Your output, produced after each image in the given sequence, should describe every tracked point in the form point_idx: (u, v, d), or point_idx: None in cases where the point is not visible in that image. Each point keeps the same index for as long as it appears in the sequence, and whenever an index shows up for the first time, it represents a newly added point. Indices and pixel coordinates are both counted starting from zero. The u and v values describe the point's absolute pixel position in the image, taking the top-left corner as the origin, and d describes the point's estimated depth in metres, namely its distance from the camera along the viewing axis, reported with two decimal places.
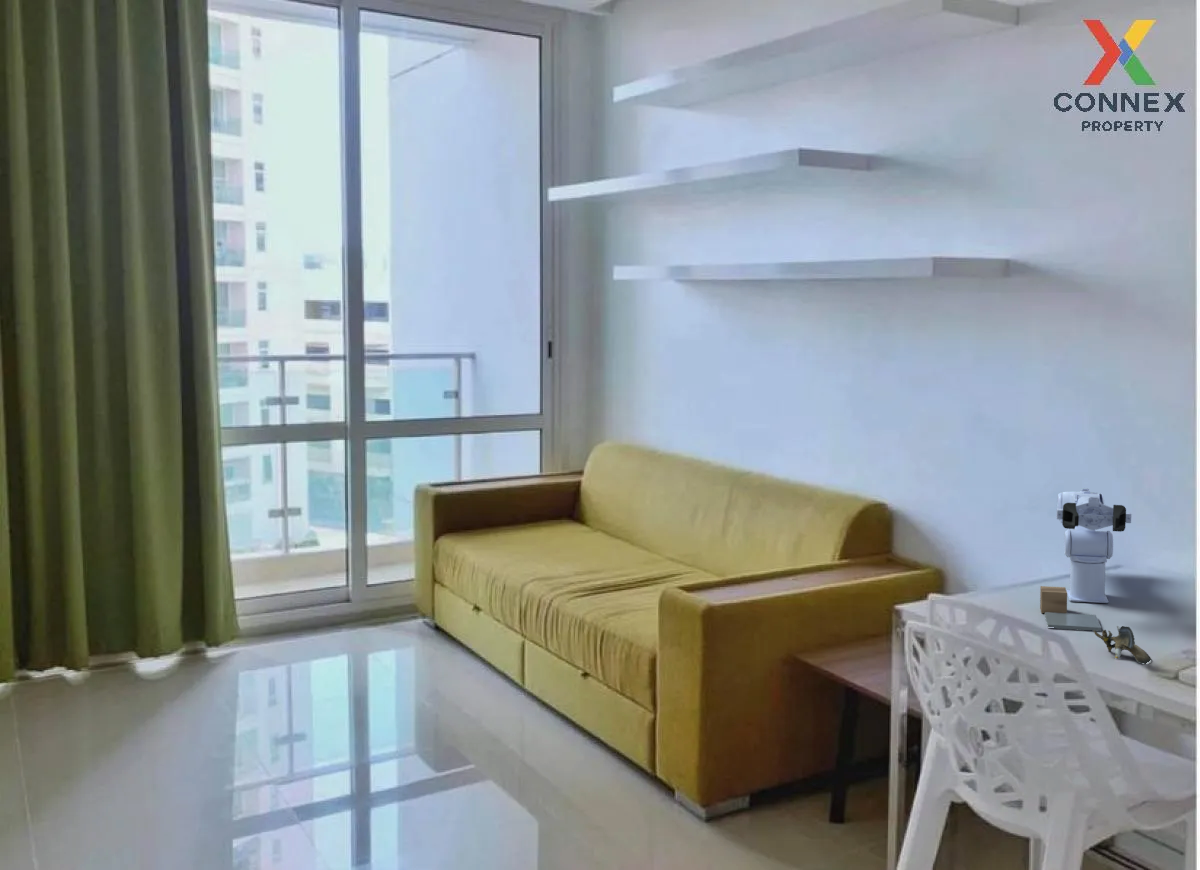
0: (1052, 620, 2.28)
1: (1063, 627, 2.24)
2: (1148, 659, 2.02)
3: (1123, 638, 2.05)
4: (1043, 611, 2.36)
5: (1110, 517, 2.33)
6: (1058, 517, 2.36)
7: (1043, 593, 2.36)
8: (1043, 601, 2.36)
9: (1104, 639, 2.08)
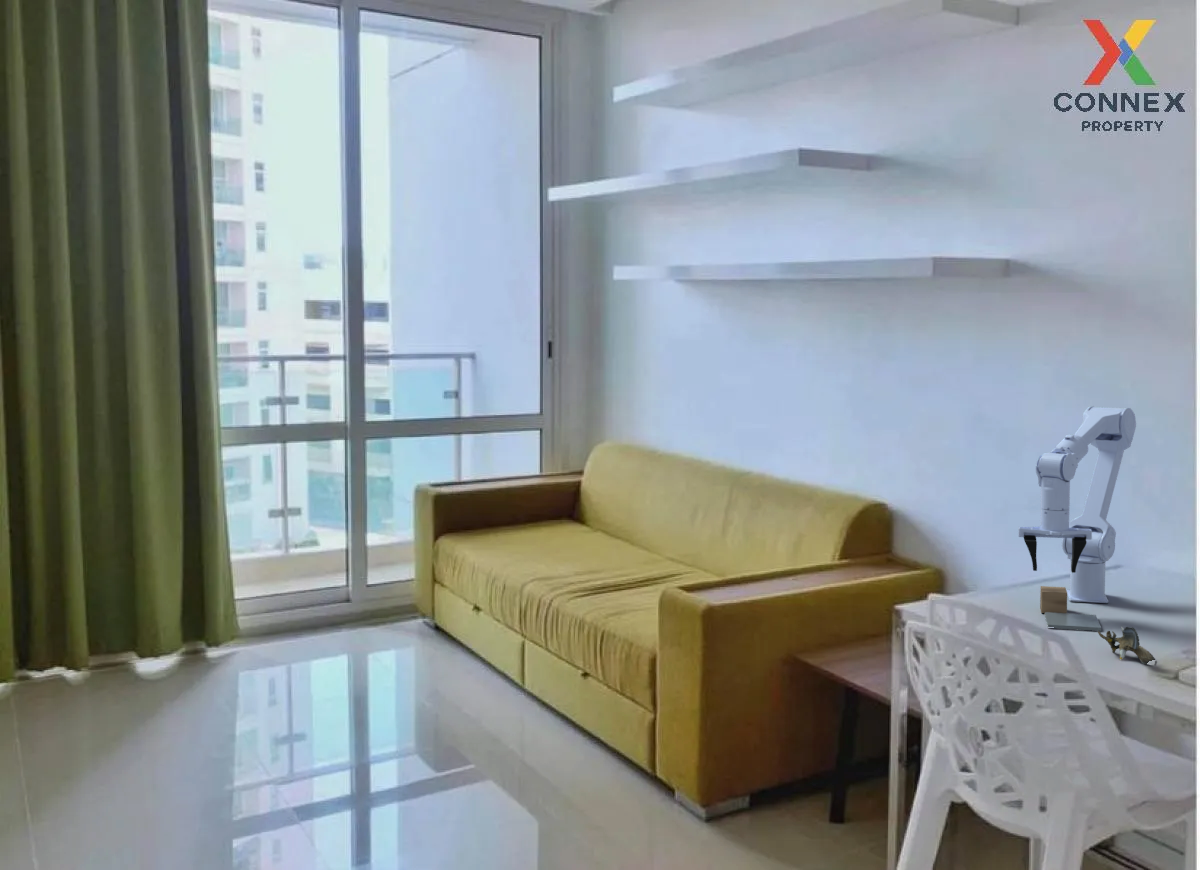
0: (1052, 620, 2.28)
1: (1063, 627, 2.24)
2: None
3: (1128, 639, 2.04)
4: (1043, 611, 2.36)
5: None
6: None
7: (1043, 593, 2.36)
8: (1043, 601, 2.36)
9: (1108, 640, 2.07)
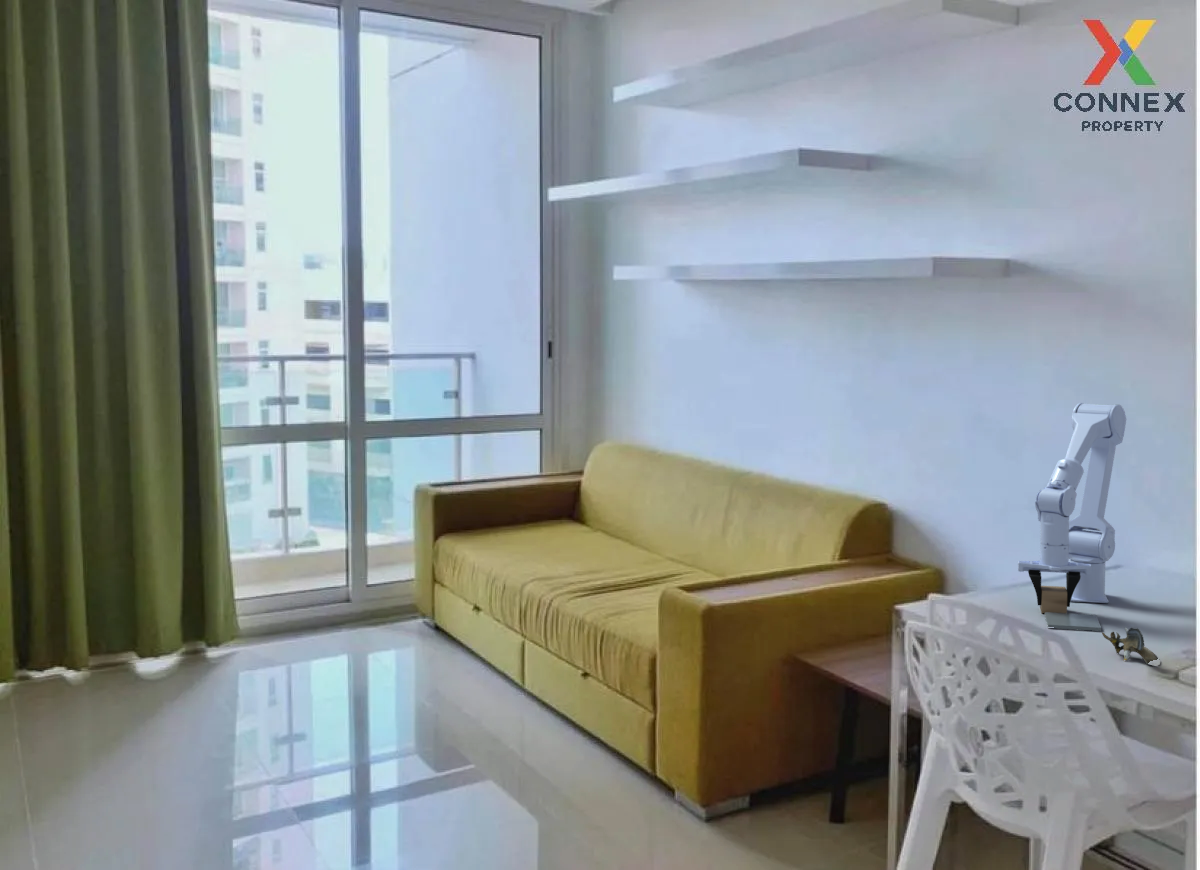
0: (1052, 620, 2.28)
1: (1063, 627, 2.24)
2: None
3: (1132, 640, 2.04)
4: (1043, 610, 2.36)
5: None
6: None
7: (1043, 593, 2.36)
8: (1043, 601, 2.36)
9: (1112, 641, 2.06)
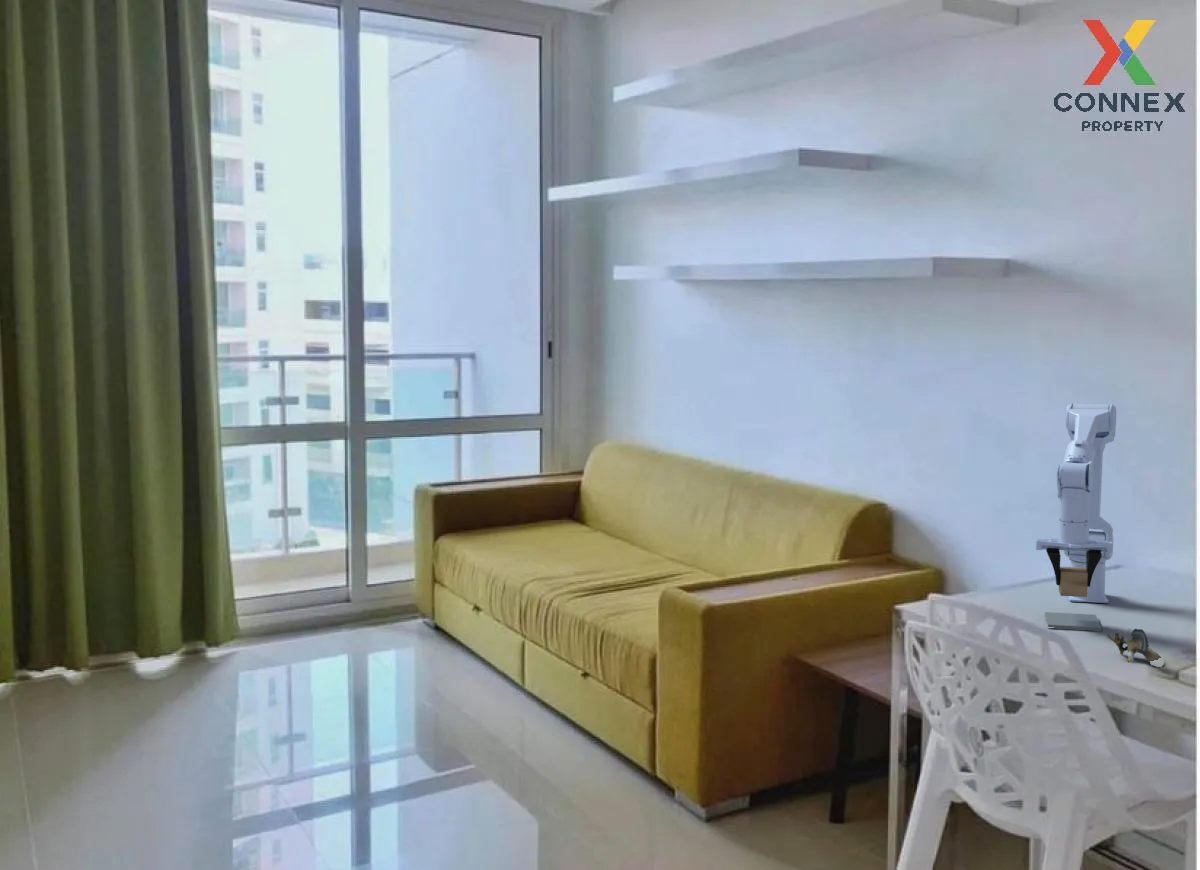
0: (1052, 620, 2.28)
1: (1063, 627, 2.24)
2: None
3: (1136, 641, 2.03)
4: (1062, 592, 2.26)
5: None
6: None
7: (1062, 574, 2.26)
8: (1062, 582, 2.26)
9: (1116, 642, 2.06)
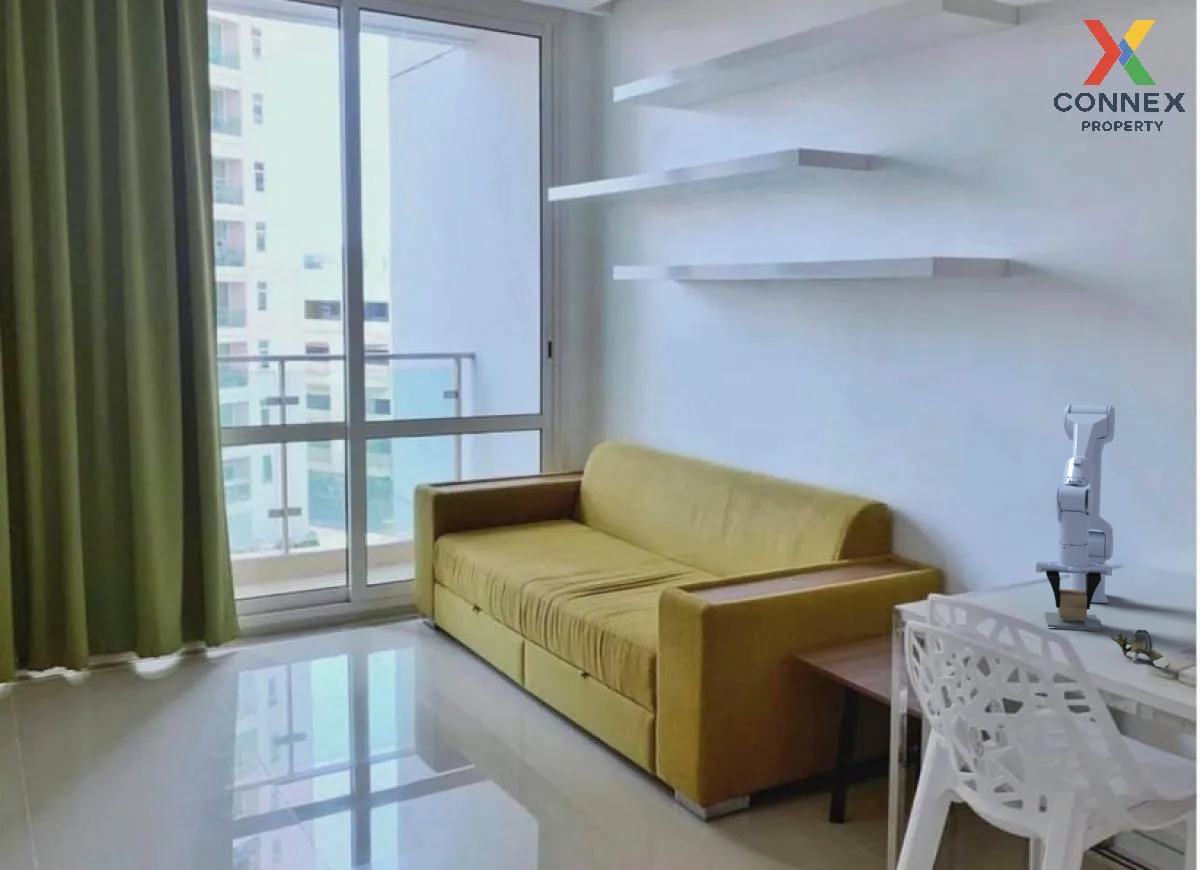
0: (1052, 620, 2.28)
1: (1063, 627, 2.24)
2: None
3: (1140, 641, 2.03)
4: (1062, 615, 2.26)
5: None
6: None
7: (1062, 596, 2.26)
8: (1062, 605, 2.26)
9: (1120, 643, 2.05)
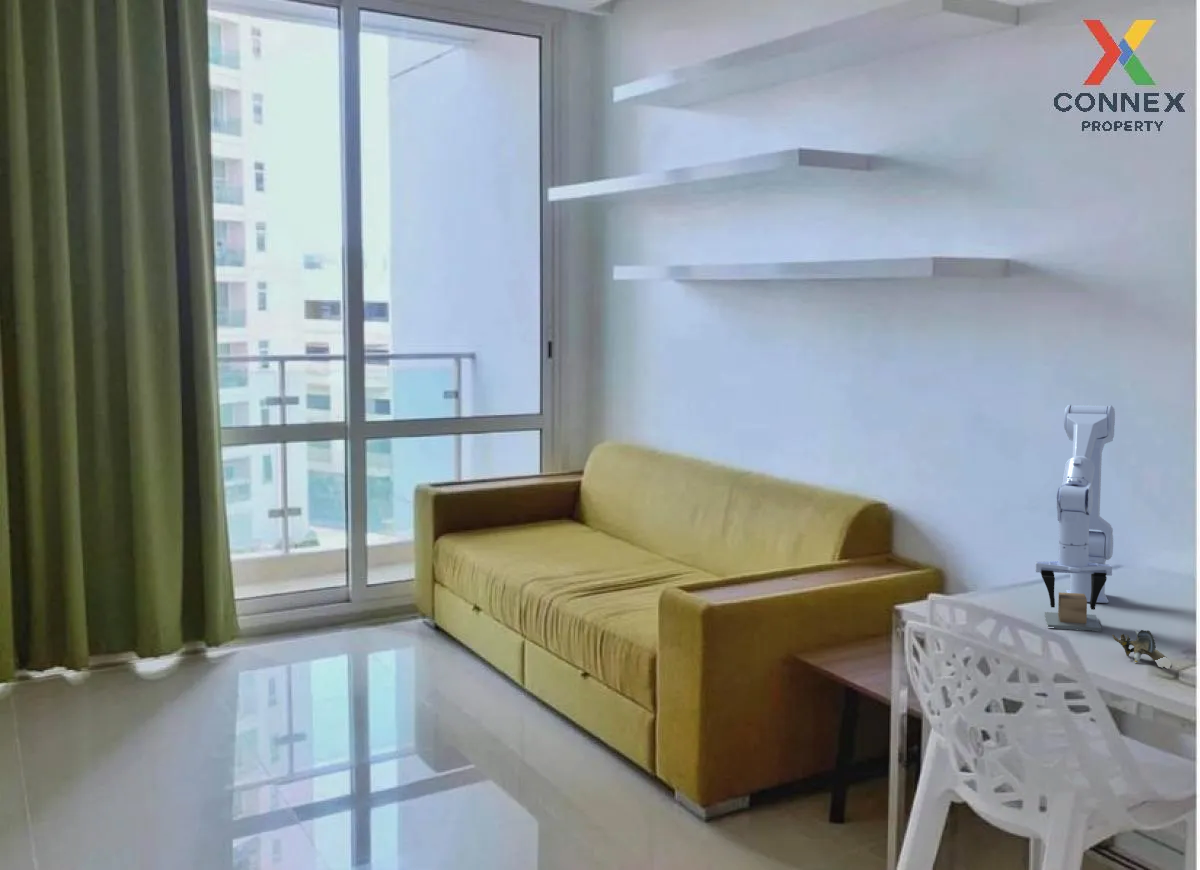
0: (1052, 620, 2.28)
1: (1063, 627, 2.24)
2: None
3: (1143, 642, 2.02)
4: (1062, 619, 2.26)
5: None
6: None
7: (1062, 600, 2.26)
8: (1062, 608, 2.26)
9: (1122, 643, 2.05)
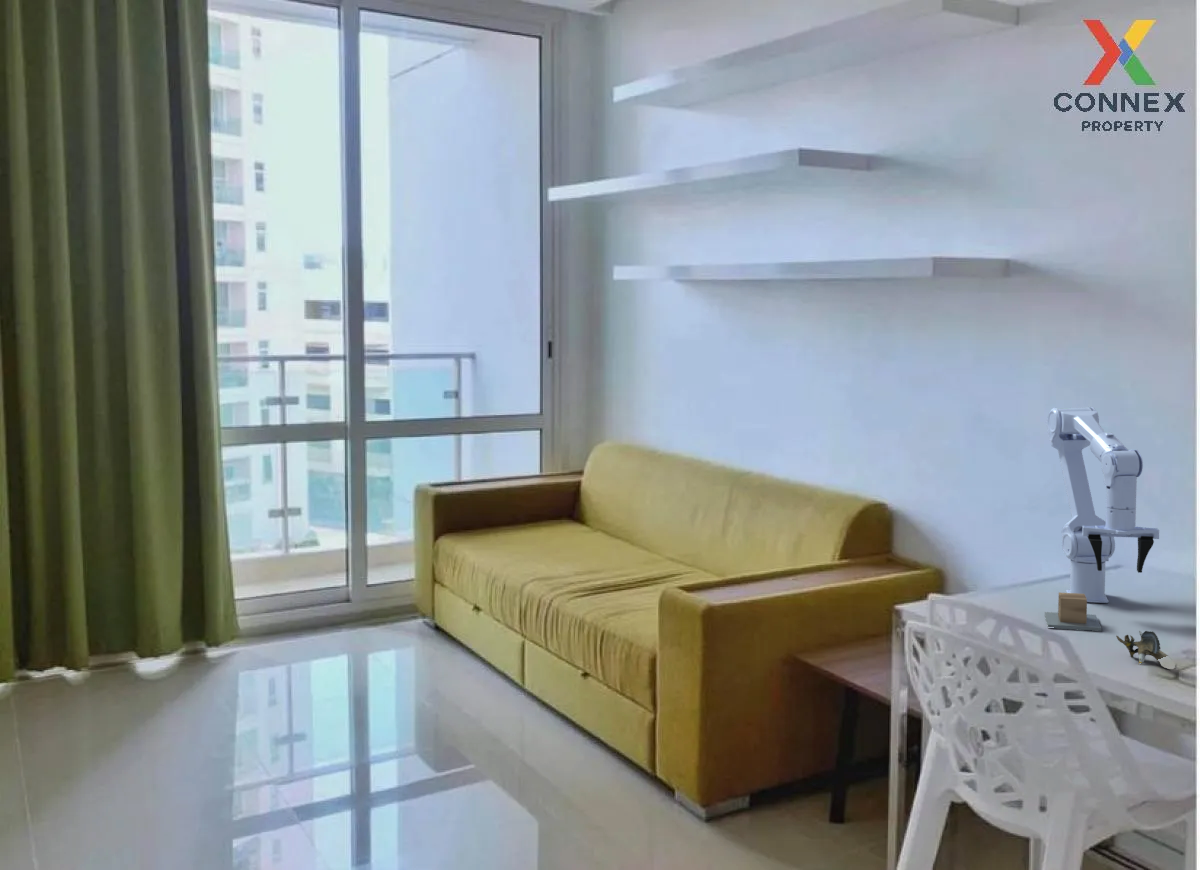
0: (1052, 620, 2.28)
1: (1063, 627, 2.24)
2: None
3: (1147, 643, 2.02)
4: (1062, 619, 2.26)
5: None
6: None
7: (1062, 600, 2.26)
8: (1062, 608, 2.26)
9: (1127, 644, 2.04)
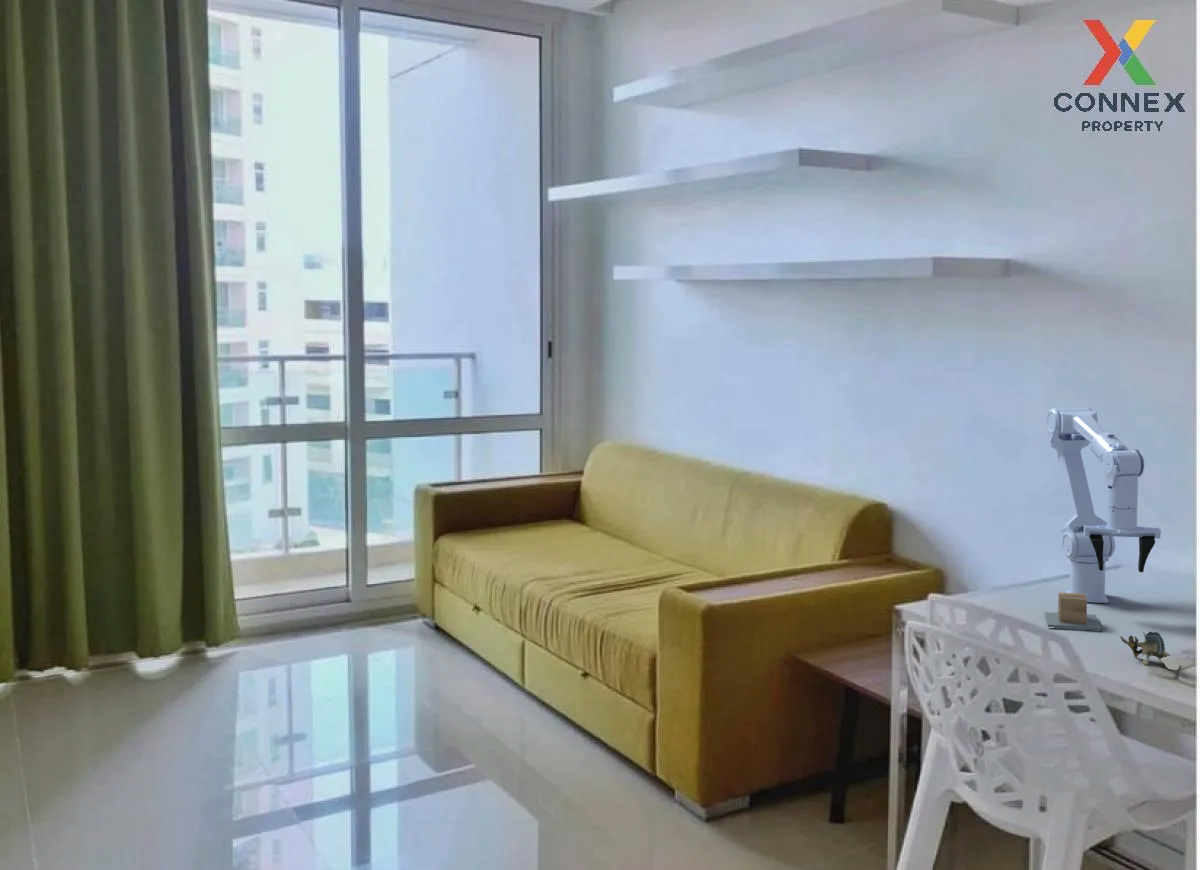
0: (1052, 620, 2.28)
1: (1063, 627, 2.24)
2: None
3: (1151, 644, 2.01)
4: (1062, 619, 2.26)
5: None
6: None
7: (1062, 600, 2.26)
8: (1062, 608, 2.26)
9: (1131, 645, 2.04)
